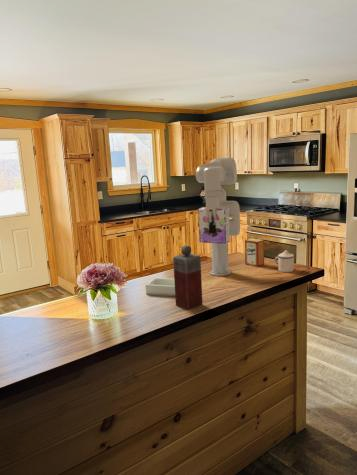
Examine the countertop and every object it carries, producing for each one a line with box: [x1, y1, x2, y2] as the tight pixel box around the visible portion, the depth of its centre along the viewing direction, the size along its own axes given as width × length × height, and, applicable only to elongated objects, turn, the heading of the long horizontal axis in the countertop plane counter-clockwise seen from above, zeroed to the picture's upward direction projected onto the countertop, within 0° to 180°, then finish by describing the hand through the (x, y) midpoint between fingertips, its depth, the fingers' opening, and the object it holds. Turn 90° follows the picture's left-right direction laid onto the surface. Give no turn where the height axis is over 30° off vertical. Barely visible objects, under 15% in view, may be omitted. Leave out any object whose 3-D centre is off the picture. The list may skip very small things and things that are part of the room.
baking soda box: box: [244, 237, 265, 268], centre depth 234 cm, size 10×6×16 cm
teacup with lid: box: [274, 250, 295, 273], centre depth 220 cm, size 12×9×12 cm
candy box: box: [197, 207, 231, 244], centre depth 180 cm, size 14×6×16 cm, turn 63°
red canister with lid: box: [172, 244, 203, 311], centre depth 172 cm, size 9×11×28 cm
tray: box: [145, 277, 175, 297], centre depth 194 cm, size 12×20×5 cm, turn 71°
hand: (214, 231), depth 181 cm, fingers closed on candy box, 6 cm apart
